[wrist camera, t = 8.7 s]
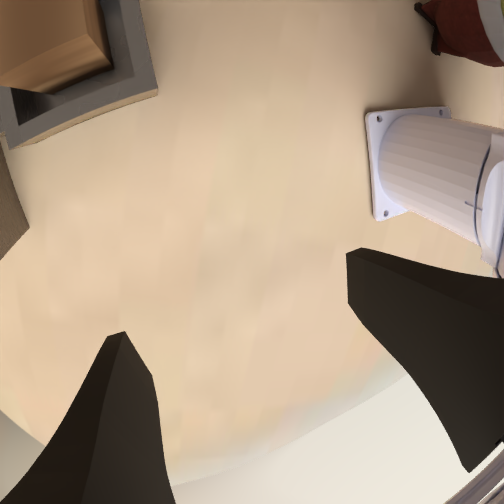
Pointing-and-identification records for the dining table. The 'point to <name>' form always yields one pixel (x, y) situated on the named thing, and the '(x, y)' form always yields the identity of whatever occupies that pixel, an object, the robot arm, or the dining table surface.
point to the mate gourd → (467, 29)
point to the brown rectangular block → (52, 43)
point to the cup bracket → (74, 103)
